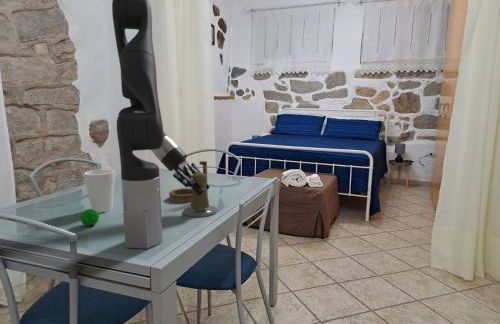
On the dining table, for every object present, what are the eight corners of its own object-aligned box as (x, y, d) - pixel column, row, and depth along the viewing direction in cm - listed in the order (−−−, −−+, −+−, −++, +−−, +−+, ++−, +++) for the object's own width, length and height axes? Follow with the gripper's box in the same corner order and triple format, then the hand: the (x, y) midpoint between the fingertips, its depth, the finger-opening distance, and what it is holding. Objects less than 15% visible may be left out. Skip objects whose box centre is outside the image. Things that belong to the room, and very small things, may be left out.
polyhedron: (78, 225, 107) (77, 209, 106) (95, 221, 110) (94, 206, 109) (85, 229, 103) (83, 213, 102) (102, 225, 106) (101, 209, 106)
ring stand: (203, 203, 128) (202, 164, 126) (166, 201, 130) (164, 163, 127) (210, 195, 138) (209, 159, 136) (175, 194, 140) (174, 158, 138)
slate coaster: (213, 217, 112) (213, 216, 112) (178, 216, 114) (178, 214, 114) (220, 207, 123) (220, 205, 123) (189, 206, 125) (188, 204, 124)
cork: (205, 209, 115) (204, 175, 113) (187, 208, 116) (186, 174, 114) (211, 203, 121) (210, 171, 119) (194, 202, 122) (193, 170, 120)
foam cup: (88, 207, 123) (85, 170, 121) (117, 204, 127) (114, 168, 124) (86, 216, 115) (83, 176, 112) (117, 212, 118) (114, 173, 116)
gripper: (166, 148, 109) (205, 189, 109) (184, 142, 123) (219, 178, 123) (151, 165, 111) (189, 205, 111) (171, 157, 125) (204, 193, 125)
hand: (204, 191), depth 117 cm, fingers closed on cork, 5 cm apart
